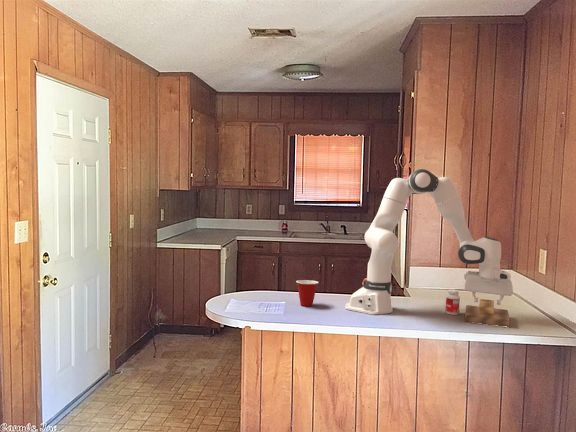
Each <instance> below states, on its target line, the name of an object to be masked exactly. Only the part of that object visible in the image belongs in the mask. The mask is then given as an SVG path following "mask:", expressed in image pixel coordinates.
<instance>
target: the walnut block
mask: <svg viewBox="0 0 576 432" xmlns="http://www.w3.org/2000/svg"><path fill="white" fill-rule="evenodd" d="M468 322H474V323H473V324H475V323H482V324H481V325H483V324H488V325H487V326H491V325H498V326H507V327H509V328H510V315H509V311H508V309H505V308H504V309H503V308H496V307H494V312H493V314H486V313H479V305H478V306H477V305H470V304H469V305H468V304H466V307H465V312H464V323H468ZM498 326H497V327H498Z"/></svg>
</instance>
